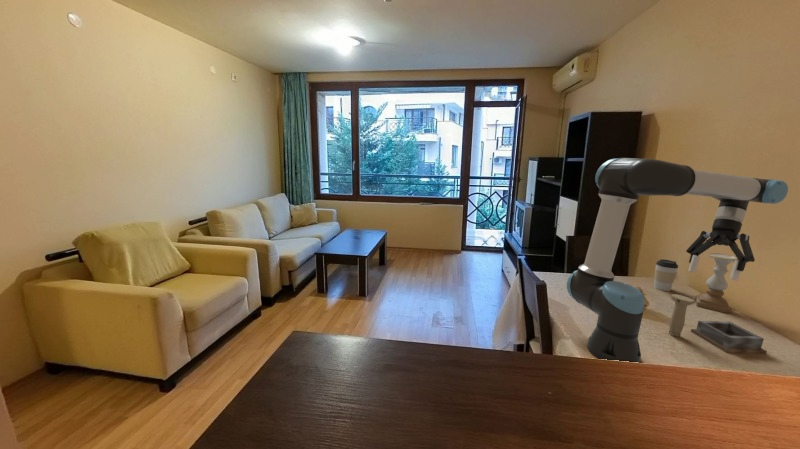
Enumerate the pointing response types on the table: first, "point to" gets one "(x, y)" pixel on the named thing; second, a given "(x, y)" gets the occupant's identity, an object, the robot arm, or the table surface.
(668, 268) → the coffee cup
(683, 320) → the handle
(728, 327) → the socket
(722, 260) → the candle holder
